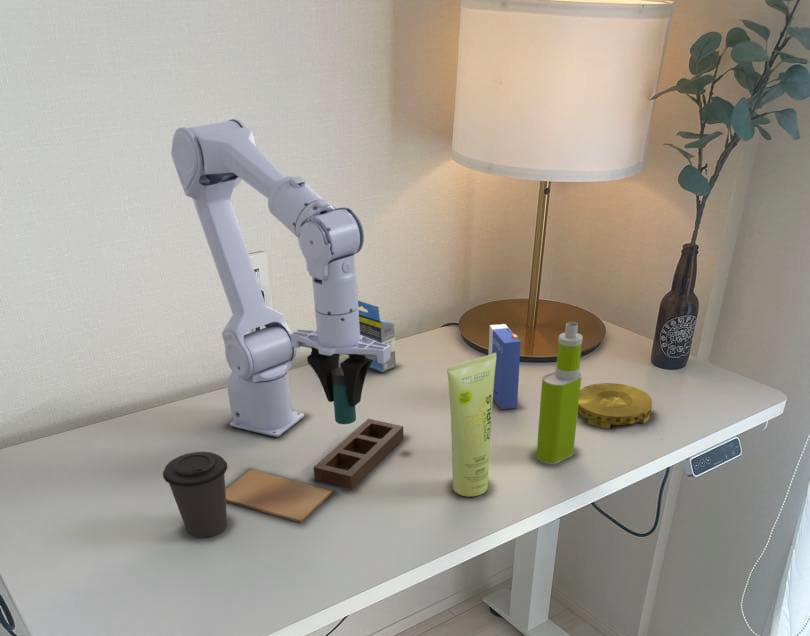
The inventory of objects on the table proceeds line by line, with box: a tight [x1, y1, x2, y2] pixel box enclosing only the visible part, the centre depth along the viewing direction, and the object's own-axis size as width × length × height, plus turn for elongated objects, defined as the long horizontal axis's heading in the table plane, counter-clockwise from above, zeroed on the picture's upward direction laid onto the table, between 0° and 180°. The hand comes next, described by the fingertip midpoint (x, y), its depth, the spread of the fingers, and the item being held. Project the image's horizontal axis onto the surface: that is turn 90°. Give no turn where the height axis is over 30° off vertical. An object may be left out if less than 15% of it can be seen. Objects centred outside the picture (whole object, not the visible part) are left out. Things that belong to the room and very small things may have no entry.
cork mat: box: [225, 469, 333, 523], centre depth 113 cm, size 14×8×1 cm, turn 63°
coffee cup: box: [162, 451, 228, 539], centre depth 104 cm, size 8×8×10 cm
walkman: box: [488, 323, 522, 410], centre depth 132 cm, size 8×3×12 cm, turn 13°
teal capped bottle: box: [331, 366, 357, 425], centre depth 113 cm, size 3×3×8 cm
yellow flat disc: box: [578, 382, 653, 429], centre depth 130 cm, size 12×12×2 cm
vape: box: [536, 321, 584, 465], centre depth 114 cm, size 4×6×20 cm, turn 129°
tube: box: [447, 353, 496, 497], centre depth 107 cm, size 6×5×20 cm
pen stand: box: [313, 418, 405, 490], centre depth 120 cm, size 6×16×2 cm, turn 153°
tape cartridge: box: [358, 300, 397, 373], centre depth 145 cm, size 9×4×12 cm, turn 46°
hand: (344, 401), depth 114 cm, fingers closed on teal capped bottle, 3 cm apart
